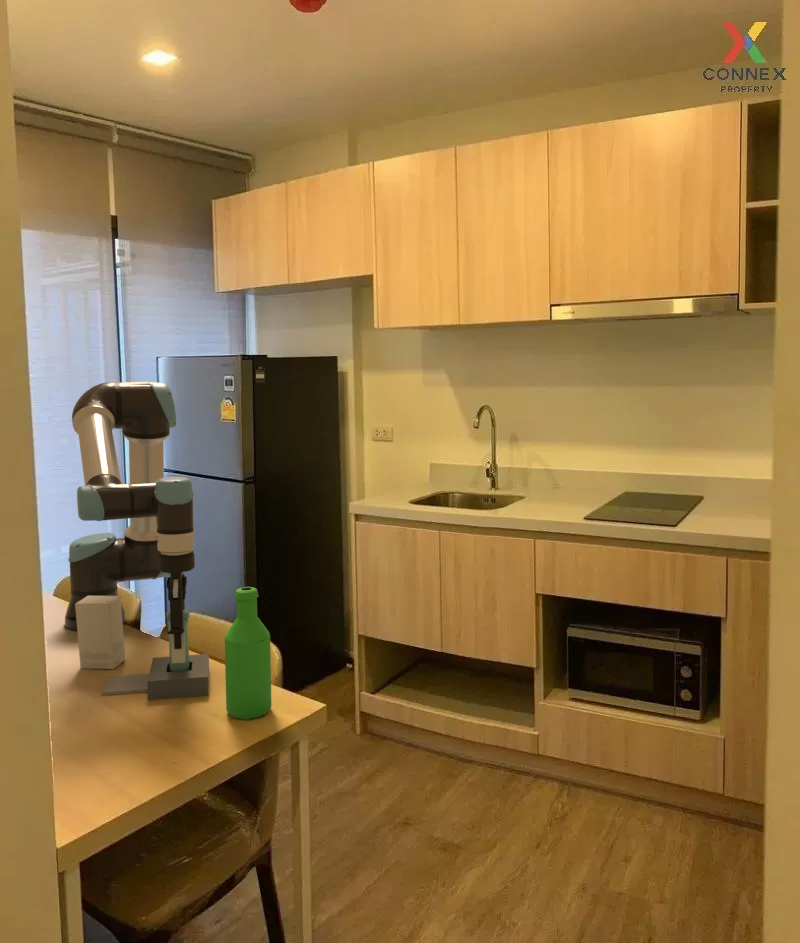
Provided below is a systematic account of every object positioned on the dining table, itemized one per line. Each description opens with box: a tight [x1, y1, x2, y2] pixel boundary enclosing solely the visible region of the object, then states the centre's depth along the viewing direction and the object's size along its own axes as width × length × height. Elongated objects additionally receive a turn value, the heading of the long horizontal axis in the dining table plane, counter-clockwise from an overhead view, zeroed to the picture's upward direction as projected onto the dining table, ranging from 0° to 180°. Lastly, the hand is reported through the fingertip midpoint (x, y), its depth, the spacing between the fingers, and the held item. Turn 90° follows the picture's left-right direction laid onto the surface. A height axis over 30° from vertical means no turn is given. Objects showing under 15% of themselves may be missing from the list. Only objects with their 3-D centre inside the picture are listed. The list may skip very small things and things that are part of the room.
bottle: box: [224, 586, 272, 720], centre depth 160 cm, size 9×9×25 cm
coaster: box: [101, 673, 149, 696], centre depth 175 cm, size 9×9×1 cm
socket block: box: [147, 653, 210, 701], centre depth 175 cm, size 14×12×4 cm
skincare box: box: [75, 595, 126, 670], centre depth 186 cm, size 8×7×16 cm
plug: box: [165, 609, 191, 672], centre depth 174 cm, size 5×5×16 cm
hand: (179, 658), depth 174 cm, fingers open, 4 cm apart
